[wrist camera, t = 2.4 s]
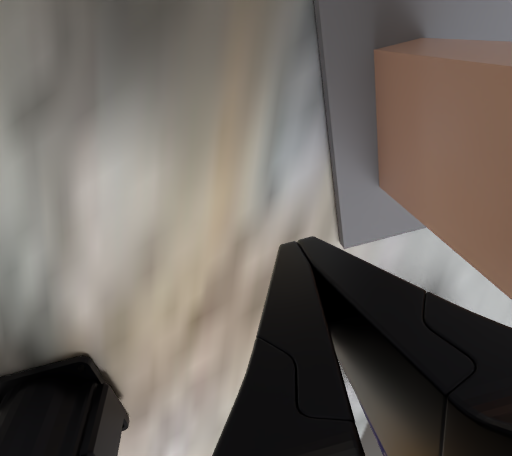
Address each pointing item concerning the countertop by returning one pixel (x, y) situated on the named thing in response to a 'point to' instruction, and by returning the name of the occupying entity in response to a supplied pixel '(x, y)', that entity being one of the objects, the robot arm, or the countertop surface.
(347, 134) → the mat
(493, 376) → the robot arm
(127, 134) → the countertop surface
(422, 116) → the tile
